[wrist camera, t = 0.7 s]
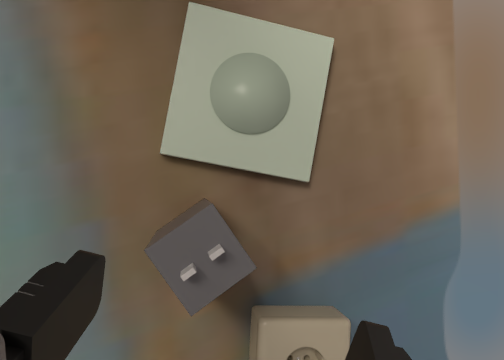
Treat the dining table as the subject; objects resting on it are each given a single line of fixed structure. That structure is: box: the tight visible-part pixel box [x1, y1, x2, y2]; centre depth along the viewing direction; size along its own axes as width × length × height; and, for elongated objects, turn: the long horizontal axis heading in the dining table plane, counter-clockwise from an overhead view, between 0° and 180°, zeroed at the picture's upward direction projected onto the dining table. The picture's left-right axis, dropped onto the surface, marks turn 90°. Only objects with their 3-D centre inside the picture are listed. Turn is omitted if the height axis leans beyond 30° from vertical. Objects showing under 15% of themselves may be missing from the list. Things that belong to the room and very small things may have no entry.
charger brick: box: [144, 198, 257, 316], centre depth 27 cm, size 4×4×11 cm
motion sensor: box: [160, 2, 334, 182], centre depth 33 cm, size 12×12×1 cm
